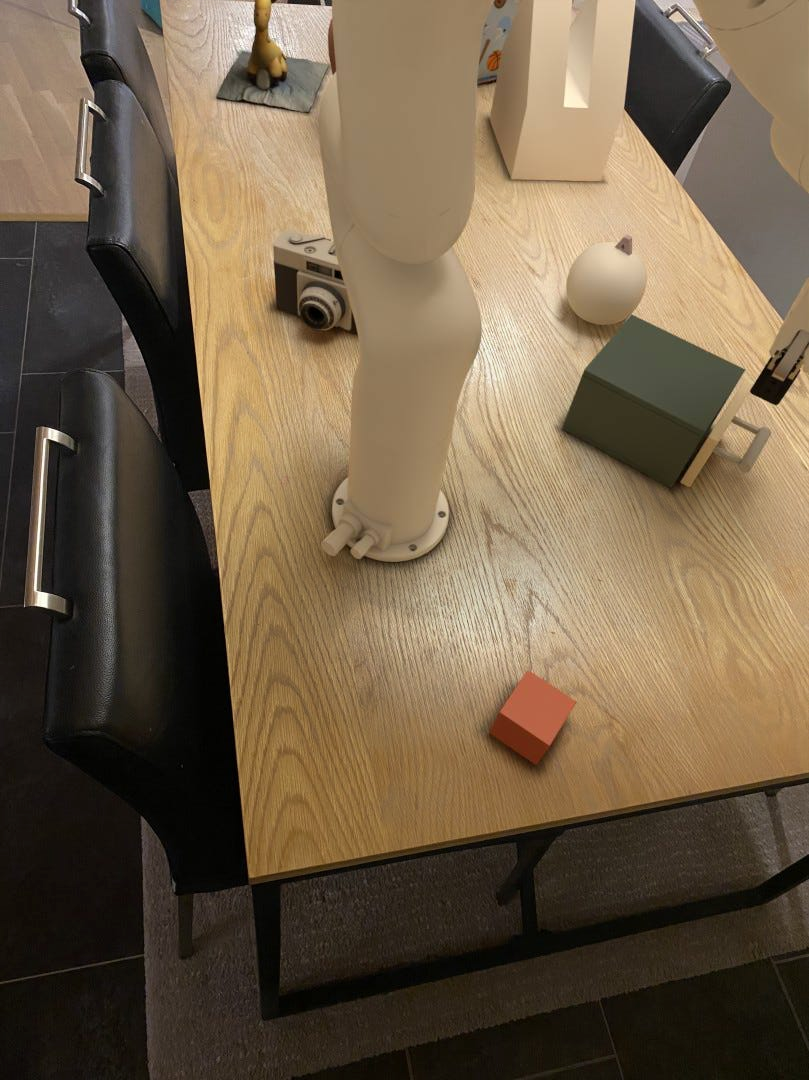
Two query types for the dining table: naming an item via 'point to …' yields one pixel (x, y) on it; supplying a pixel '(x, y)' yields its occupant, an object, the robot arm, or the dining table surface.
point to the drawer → (718, 432)
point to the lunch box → (495, 37)
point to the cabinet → (650, 399)
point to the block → (532, 717)
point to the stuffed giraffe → (271, 71)
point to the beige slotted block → (562, 88)
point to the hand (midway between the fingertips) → (765, 395)
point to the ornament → (606, 282)
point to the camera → (311, 281)
